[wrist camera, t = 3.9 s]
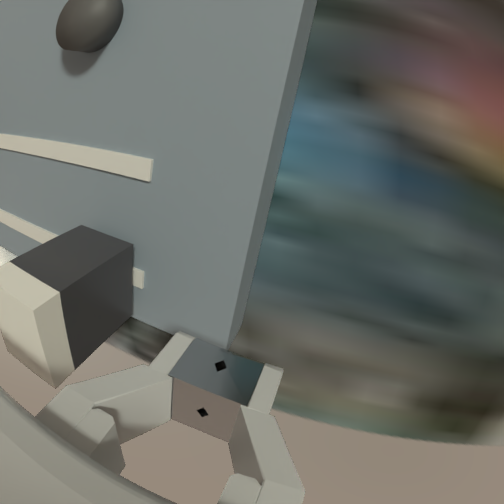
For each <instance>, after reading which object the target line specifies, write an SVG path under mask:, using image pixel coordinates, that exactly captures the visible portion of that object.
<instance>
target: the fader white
mask: <svg viewBox="0 0 504 504" xmlns="http://www.w3.org/2000/svg"><path fill="white" fill-rule="evenodd" d="M132 272H133V244H132V243H129V242H126V241H123V240H121V239H118V238H115V237H113V236H110V235H107V234H105V233H102V232H99V231H97V230H94V229H91V228H89V227H86V226H83V225H80V226H78V227H76V228H73V229H71V230H69V231H67V232H65V233H63V234H61V235H59V236H57V237H55V238H53V239H51V240H49V241H47V242H45V243H43V244H41V245H39V246H37V247H35V248H33V249H31V250H30V251H28V252H26V253H24V254H22V255H20V256H18V257H16V258H15V259H13V260H11V261H9V262H7V263H5V264H4V265H2V266H0V330H1V333H2V336H3V339H4V341H5V344H6V347H7V350H8V351H9V352H10V353H11V354H12V355H13V356H14V357H16V358H17V359H18V360H19V361H20V362H22V363H23V364H24V365H25V366H26V367H28V368H29V369H30V370H32V371H33V372H34V373H35V374H36V375H38V376H39V377H40V378H42V379H43V380H44V381H46V382H47V383H48V384H50V385H51V386H53V387H54V388H55V389H56V388H57V387H58V386H59V385H60V384H61V383H62V382H63V381H64V380H65V379H66V378H67V377H68V376H69V375H70V374H71V373H72V372H73V371H74V370H75V369H76V368H77V367H78V366H79V365H80V364H81V363H83V362H84V361H85V360H86V359H87V358H88V357H89V356H90V355H91V354H92V353H93V352H94V351H95V350H96V349H97V348H98V347H99V346H100V345H101V344H102V343H103V342H104V341H105V340H106V339H107V338H108V337H110V336H111V335H112V334H113V333H114V332H115V331H116V330H117V329H118V328H119V327H120V326H121V325H122V324H123V323H124V322H125V321H126V320H127V319H129V318H130V317H131V316H132Z"/></svg>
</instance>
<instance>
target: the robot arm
mask: <svg viewBox="0 0 504 504" xmlns="http://www.w3.org/2000/svg"><path fill="white" fill-rule="evenodd" d="M282 374H283V368H279V367H276V366H273V365H270V364H267V363H263V362H260V361H257V360H254V359H251V358H248V357H245V356H242V355H240V354H237V353H234V352H231V351H228V350H225V349H223V348H220V347H218V346H215V345H213V344H211V343H208V342H206V341H203V340H201V339H199V338H195V337H193V336H190V335H188V334H186V333H184V332H181V331H179V332H177V333H175V335H174V336H173V337H172V338H171V339H170V341H169V342H168V343H167V344H166V345H165V347H164V348H163V349H162V350H161V351H160V353H159V354H158V355H157V356H156V357H155V359H154V360H153V361H152V362H151V363H150V365H149V366H147V365H145V364H142V365H139V366H135V367H132V368H129V369H125V370H122V371H118V372H115V373H111V374H108V375H104V376H100V377H97V378H93V379H89V380H86V381H82V382H78V383H75V384H70V385H66V386H65V387H64V388H63V389H62V390H61V391H60V392H59V393H58V394H57V395H56V396H55V397H54V398H53V399H52V400H51V401H50V402H49V403H48V404H47V405H46V406H45V407H44V408H43V409H42V410H41V411H40V412H39V413H38V414H37V416H35V417H34V416H33V415H32V414H31V413H29V412H28V411H27V410H26V409H24V408H23V407H22V406H21V405H20V404H19V403H18V402H17V401H15V400H14V399H13V398H12V397H11V396H10V395H9V394H8V393H7V392H6V391H5V390H4V389H2V388H1V387H0V504H177V503H174V502H172V501H170V500H168V499H165V498H163V497H161V496H159V495H157V494H155V493H153V492H151V491H149V490H146V489H145V488H143V487H140V486H138V485H137V484H135V483H133V482H131V481H129V480H128V479H126V478H124V477H122V476H120V473H121V471H122V470H123V469H124V467H125V462H124V459H123V455H122V451H121V447H120V444H122V443H124V442H126V441H129V440H131V439H133V438H135V437H137V436H139V435H142V434H143V433H146V432H148V431H150V430H152V429H154V428H156V427H158V426H160V425H162V424H164V423H166V422H168V421H170V419H173V420H176V421H178V422H180V423H183V424H185V425H188V426H190V427H193V428H195V429H198V430H201V431H202V432H205V433H207V434H210V435H212V436H214V437H217V438H219V439H222V440H224V441H227V442H229V443H228V444H229V449H230V454H231V458H232V463H233V468H234V472H235V474H234V475H231V476H230V477H229V480H228V482H227V484H226V486H225V488H224V491H223V493H222V495H221V497H220V499H219V501H218V503H217V504H302V502H303V498H304V494H305V489H304V487H303V485H302V482H301V480H300V477H299V475H298V473H297V470H296V468H295V466H294V463H293V461H292V458H291V456H290V453H289V451H288V448H287V446H286V443H285V441H284V438H283V436H282V433H281V431H280V428H279V426H278V424H277V421H276V418H275V416H272V415H270V414H269V413H270V411H271V408H272V405H273V402H274V399H275V396H276V393H277V390H278V387H279V384H280V380H281V377H282Z"/></svg>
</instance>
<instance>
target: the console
mask: <svg viewBox="0 0 504 504" xmlns="http://www.w3.org/2000/svg"><path fill="white" fill-rule="evenodd" d="M316 3H317V0H1V1H0V246H2V247H4V248H5V249H7V250H8V251H10V252H12V253H13V254H15V255H17V256H20V255H22V254H24V253H26V252H28V251H30V250H31V249H33V248H35V247H37V246H39V245H41V244H43V243H45V242H47V241H49V240H51V239H53V238H55V237H57V236H59V235H61V234H63V233H65V232H67V231H69V230H71V229H73V228H76V227H78V226H80V225H83V226H86V227H89V228H91V229H94V230H97V231H99V232H102V233H105V234H107V235H110V236H113V237H115V238H118V239H121V240H123V241H126V242H129V243H132V244H133V272H132V316H131V317H134V318H136V319H138V320H140V321H142V322H145V323H147V324H149V325H151V326H153V327H156V328H158V329H160V330H163V331H165V332H167V333H170V334H172V335H175V333H177V332H179V331H181V332H184V333H186V334H188V335H190V336H193V337H195V338H199V339H201V340H203V341H206V342H208V343H211V344H213V345H215V346H218V347H220V348H223V349H225V350H228V349H229V347H230V345H231V343H232V341H233V340H234V338H235V336H236V334H237V333H238V331H239V329H240V327H241V325H242V321H243V316H244V312H245V308H246V304H247V300H248V296H249V292H250V287H251V283H252V279H253V275H254V271H255V267H256V262H257V258H258V254H259V250H260V246H261V241H262V237H263V233H264V229H265V225H266V220H267V216H268V212H269V208H270V203H271V199H272V195H273V191H274V186H275V182H276V178H277V174H278V169H279V165H280V161H281V156H282V152H283V148H284V144H285V139H286V135H287V131H288V126H289V122H290V118H291V113H292V109H293V105H294V100H295V96H296V92H297V87H298V83H299V79H300V74H301V70H302V65H303V61H304V57H305V52H306V48H307V43H308V39H309V35H310V30H311V26H312V21H313V17H314V12H315V8H316Z"/></svg>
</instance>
